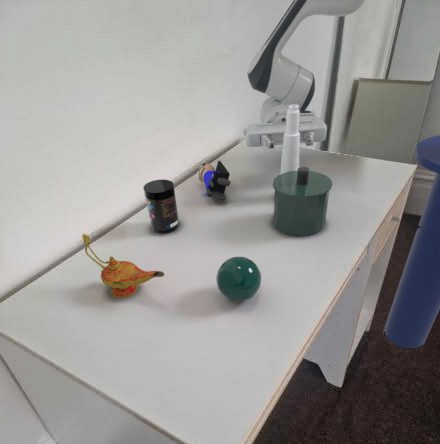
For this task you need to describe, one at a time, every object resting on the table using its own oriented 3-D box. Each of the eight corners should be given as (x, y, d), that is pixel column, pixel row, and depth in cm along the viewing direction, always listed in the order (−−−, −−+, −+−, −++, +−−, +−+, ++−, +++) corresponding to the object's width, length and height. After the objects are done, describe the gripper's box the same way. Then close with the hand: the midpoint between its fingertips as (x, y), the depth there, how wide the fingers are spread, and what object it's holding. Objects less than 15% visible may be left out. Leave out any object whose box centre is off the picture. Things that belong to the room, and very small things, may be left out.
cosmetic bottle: (297, 203, 93) (305, 109, 79) (274, 201, 95) (277, 109, 80) (301, 193, 97) (309, 101, 83) (278, 191, 99) (282, 101, 85)
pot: (297, 206, 92) (300, 169, 86) (334, 223, 85) (341, 184, 79) (263, 222, 87) (263, 184, 81) (299, 242, 80) (303, 202, 74)
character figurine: (209, 208, 95) (198, 185, 106) (236, 202, 95) (222, 179, 107) (204, 180, 90) (192, 158, 101) (233, 173, 90) (218, 152, 101)
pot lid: (300, 170, 87) (302, 152, 84) (344, 187, 79) (347, 168, 76) (260, 187, 82) (260, 169, 79) (303, 207, 74) (305, 187, 71)
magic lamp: (159, 315, 66) (147, 266, 59) (84, 289, 73) (65, 242, 65) (179, 292, 70) (171, 243, 63) (106, 270, 77) (91, 223, 70)
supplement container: (163, 217, 92) (156, 177, 86) (185, 223, 89) (179, 182, 83) (146, 230, 88) (136, 189, 81) (168, 237, 85) (160, 195, 78)
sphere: (236, 317, 64) (234, 281, 59) (209, 294, 69) (205, 259, 64) (270, 297, 68) (271, 262, 62) (242, 276, 73) (241, 242, 67)
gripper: (242, 116, 97) (247, 134, 87) (319, 110, 97) (334, 127, 87) (242, 141, 101) (247, 160, 91) (317, 135, 101) (330, 154, 91)
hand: (290, 144), depth 89 cm, fingers open, 8 cm apart
